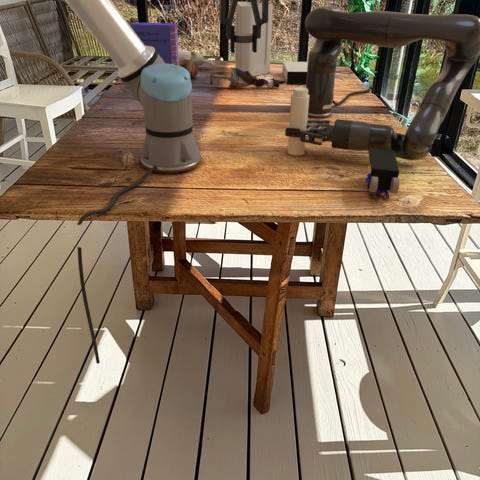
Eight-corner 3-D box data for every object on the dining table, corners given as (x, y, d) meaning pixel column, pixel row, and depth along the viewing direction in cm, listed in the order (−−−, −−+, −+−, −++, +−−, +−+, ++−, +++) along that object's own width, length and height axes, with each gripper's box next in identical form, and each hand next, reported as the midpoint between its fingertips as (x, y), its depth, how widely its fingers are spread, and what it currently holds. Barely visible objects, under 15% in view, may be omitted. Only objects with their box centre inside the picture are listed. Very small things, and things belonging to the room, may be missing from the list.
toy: (170, 75, 210) (169, 59, 206) (146, 65, 227) (145, 49, 223) (217, 69, 221) (217, 53, 218) (191, 60, 239) (191, 45, 235)
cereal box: (180, 88, 189) (177, 22, 177) (178, 91, 185) (174, 24, 173) (137, 87, 190) (130, 21, 178) (134, 90, 186) (127, 23, 173)
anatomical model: (190, 85, 210) (181, 86, 196) (175, 71, 209) (165, 71, 195) (208, 63, 206) (200, 61, 191) (193, 48, 205) (184, 46, 191)
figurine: (210, 87, 179) (288, 95, 182) (212, 65, 176) (291, 73, 180) (208, 84, 201) (278, 91, 205) (210, 64, 198) (280, 71, 202)
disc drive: (287, 84, 198) (287, 71, 196) (281, 72, 218) (282, 61, 215) (329, 84, 199) (330, 72, 196) (320, 72, 218) (321, 61, 216)
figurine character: (397, 209, 105) (389, 175, 117) (404, 179, 101) (395, 147, 112) (366, 207, 106) (361, 173, 118) (371, 177, 101) (366, 145, 113)
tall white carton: (273, 76, 210) (276, 6, 196) (239, 77, 209) (240, 6, 194) (266, 67, 226) (268, 2, 212) (235, 67, 225) (235, 1, 210)
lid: (239, 39, 132) (239, 32, 131) (257, 41, 129) (257, 34, 128) (229, 42, 128) (229, 34, 127) (247, 43, 125) (247, 36, 124)
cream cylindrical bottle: (307, 153, 130) (313, 90, 121) (293, 156, 128) (298, 92, 119) (298, 148, 134) (303, 86, 125) (284, 151, 132) (288, 87, 123)
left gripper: (209, -49, 113) (211, 55, 125) (284, -48, 116) (279, 53, 128) (206, -49, 119) (208, 50, 131) (277, -48, 122) (273, 48, 134)
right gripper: (356, 113, 128) (293, 107, 132) (351, 129, 116) (282, 122, 120) (352, 140, 132) (291, 134, 136) (347, 158, 120) (281, 151, 124)
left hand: (243, 51), depth 130 cm, fingers closed on lid, 5 cm apart
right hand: (287, 128), depth 128 cm, fingers closed on cream cylindrical bottle, 4 cm apart
